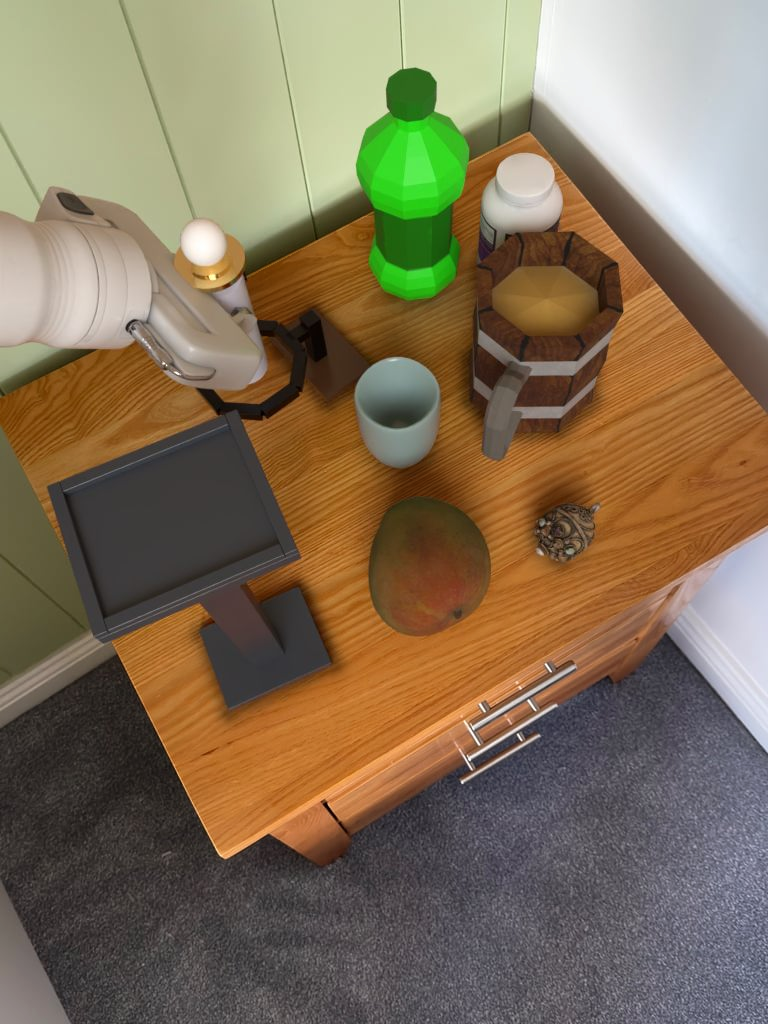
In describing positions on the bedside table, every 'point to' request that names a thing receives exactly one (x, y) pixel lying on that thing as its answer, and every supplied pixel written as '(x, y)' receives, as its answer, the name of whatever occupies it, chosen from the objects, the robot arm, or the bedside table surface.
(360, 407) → the cup
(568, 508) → the pendant
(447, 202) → the plastic bottle
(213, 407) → the ring stand
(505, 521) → the bedside table surface
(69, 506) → the pedestal tray stand
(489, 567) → the fruit
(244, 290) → the perfume bottle
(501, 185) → the pill bottle
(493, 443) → the mug
